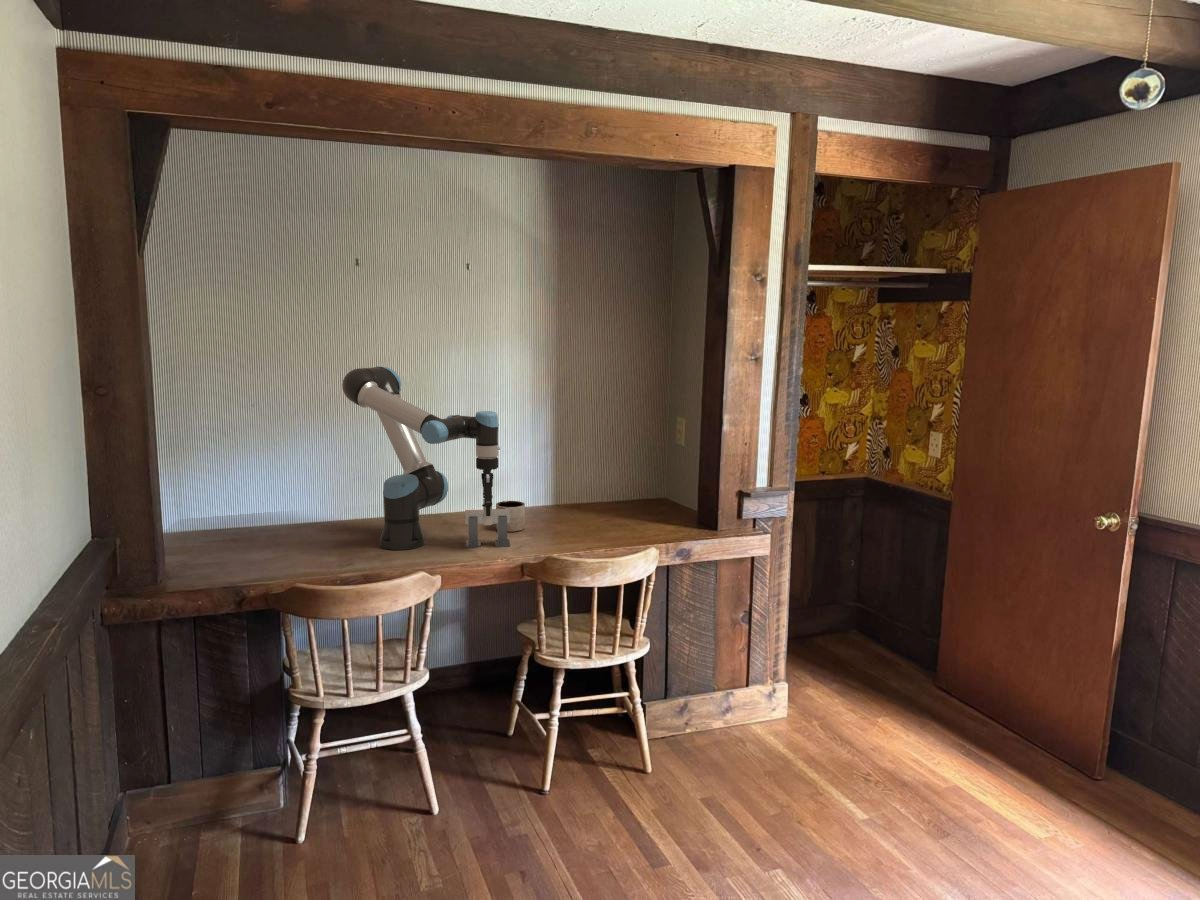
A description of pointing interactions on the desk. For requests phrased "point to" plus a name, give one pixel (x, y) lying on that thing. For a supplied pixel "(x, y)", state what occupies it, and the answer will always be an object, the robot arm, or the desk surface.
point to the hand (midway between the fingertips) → (487, 520)
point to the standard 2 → (502, 533)
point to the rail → (480, 515)
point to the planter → (513, 515)
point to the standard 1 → (473, 534)
